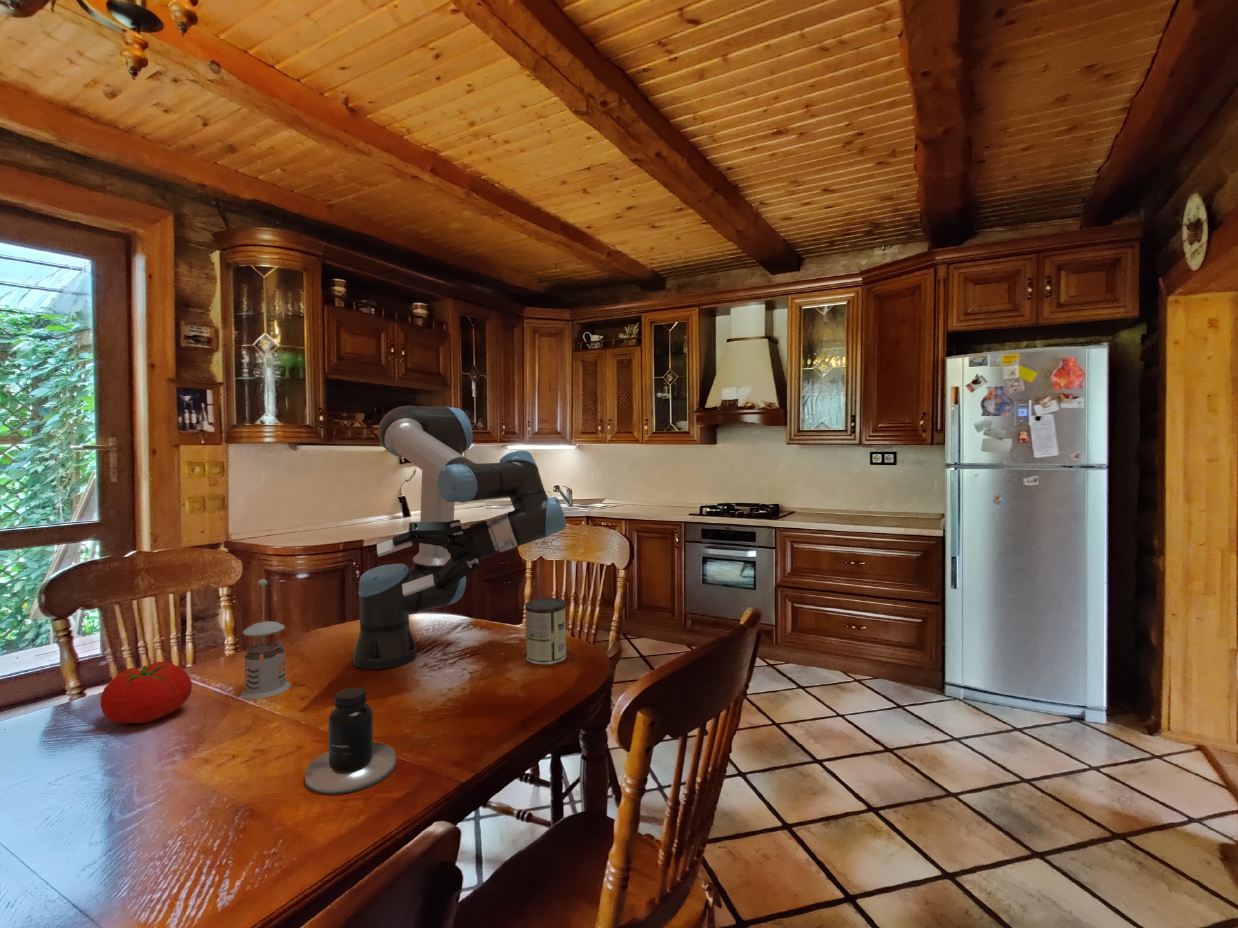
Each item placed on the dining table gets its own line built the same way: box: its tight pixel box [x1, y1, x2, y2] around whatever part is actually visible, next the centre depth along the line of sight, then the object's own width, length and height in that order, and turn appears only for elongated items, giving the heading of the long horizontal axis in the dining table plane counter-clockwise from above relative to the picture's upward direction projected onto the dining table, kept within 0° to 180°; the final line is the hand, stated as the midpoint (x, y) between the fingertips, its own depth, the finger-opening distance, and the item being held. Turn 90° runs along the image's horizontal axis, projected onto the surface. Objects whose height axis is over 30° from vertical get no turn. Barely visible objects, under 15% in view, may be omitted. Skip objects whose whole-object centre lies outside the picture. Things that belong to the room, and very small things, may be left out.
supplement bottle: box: [327, 687, 374, 772], centre depth 101 cm, size 7×7×12 cm
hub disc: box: [304, 742, 397, 795], centre depth 102 cm, size 14×14×1 cm
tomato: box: [100, 661, 193, 725], centre depth 122 cm, size 14×16×10 cm
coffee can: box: [524, 597, 567, 666], centre depth 153 cm, size 10×10×14 cm
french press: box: [240, 578, 291, 700], centre depth 136 cm, size 10×12×25 cm
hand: (390, 571), depth 122 cm, fingers open, 13 cm apart
